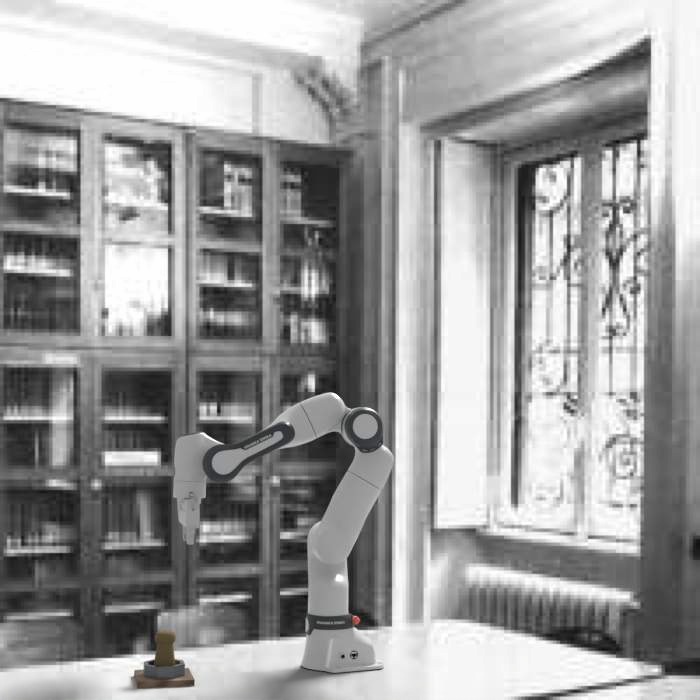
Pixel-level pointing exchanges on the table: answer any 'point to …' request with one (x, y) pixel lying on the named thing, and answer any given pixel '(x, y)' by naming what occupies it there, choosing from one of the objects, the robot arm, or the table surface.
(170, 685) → the walnut base
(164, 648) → the cork
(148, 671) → the metal collar
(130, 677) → the table surface
